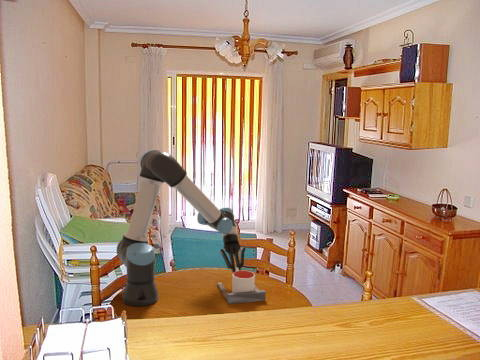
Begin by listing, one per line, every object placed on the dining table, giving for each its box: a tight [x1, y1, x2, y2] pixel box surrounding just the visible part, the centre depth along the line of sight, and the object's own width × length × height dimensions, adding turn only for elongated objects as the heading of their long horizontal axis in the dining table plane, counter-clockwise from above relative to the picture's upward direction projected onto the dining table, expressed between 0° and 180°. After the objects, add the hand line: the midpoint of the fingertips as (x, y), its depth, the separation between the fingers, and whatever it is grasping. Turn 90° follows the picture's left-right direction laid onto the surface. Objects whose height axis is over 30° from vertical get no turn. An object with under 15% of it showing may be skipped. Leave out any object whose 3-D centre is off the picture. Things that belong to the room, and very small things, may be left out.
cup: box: [231, 269, 256, 293], centre depth 187 cm, size 10×10×10 cm
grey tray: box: [216, 282, 267, 305], centre depth 190 cm, size 20×17×4 cm
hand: (238, 281), depth 193 cm, fingers closed
